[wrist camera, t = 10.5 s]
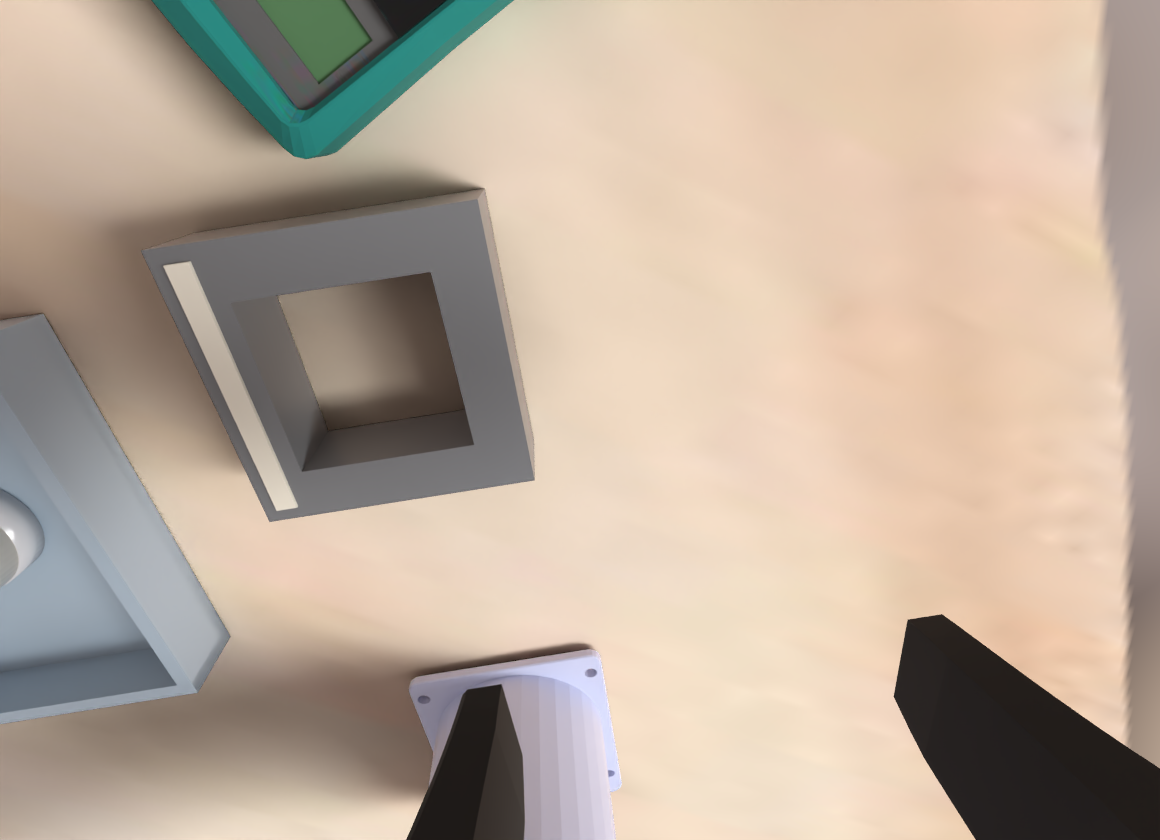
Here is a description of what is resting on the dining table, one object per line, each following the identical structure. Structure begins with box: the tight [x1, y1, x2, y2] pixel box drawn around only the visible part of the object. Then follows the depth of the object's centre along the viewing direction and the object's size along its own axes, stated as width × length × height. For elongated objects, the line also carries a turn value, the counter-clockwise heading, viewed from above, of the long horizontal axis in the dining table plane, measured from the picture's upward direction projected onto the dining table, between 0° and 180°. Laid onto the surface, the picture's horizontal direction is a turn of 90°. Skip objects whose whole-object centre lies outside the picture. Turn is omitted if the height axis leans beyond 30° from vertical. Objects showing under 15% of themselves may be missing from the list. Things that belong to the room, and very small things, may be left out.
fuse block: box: [141, 189, 535, 522], centre depth 17 cm, size 8×8×3 cm
